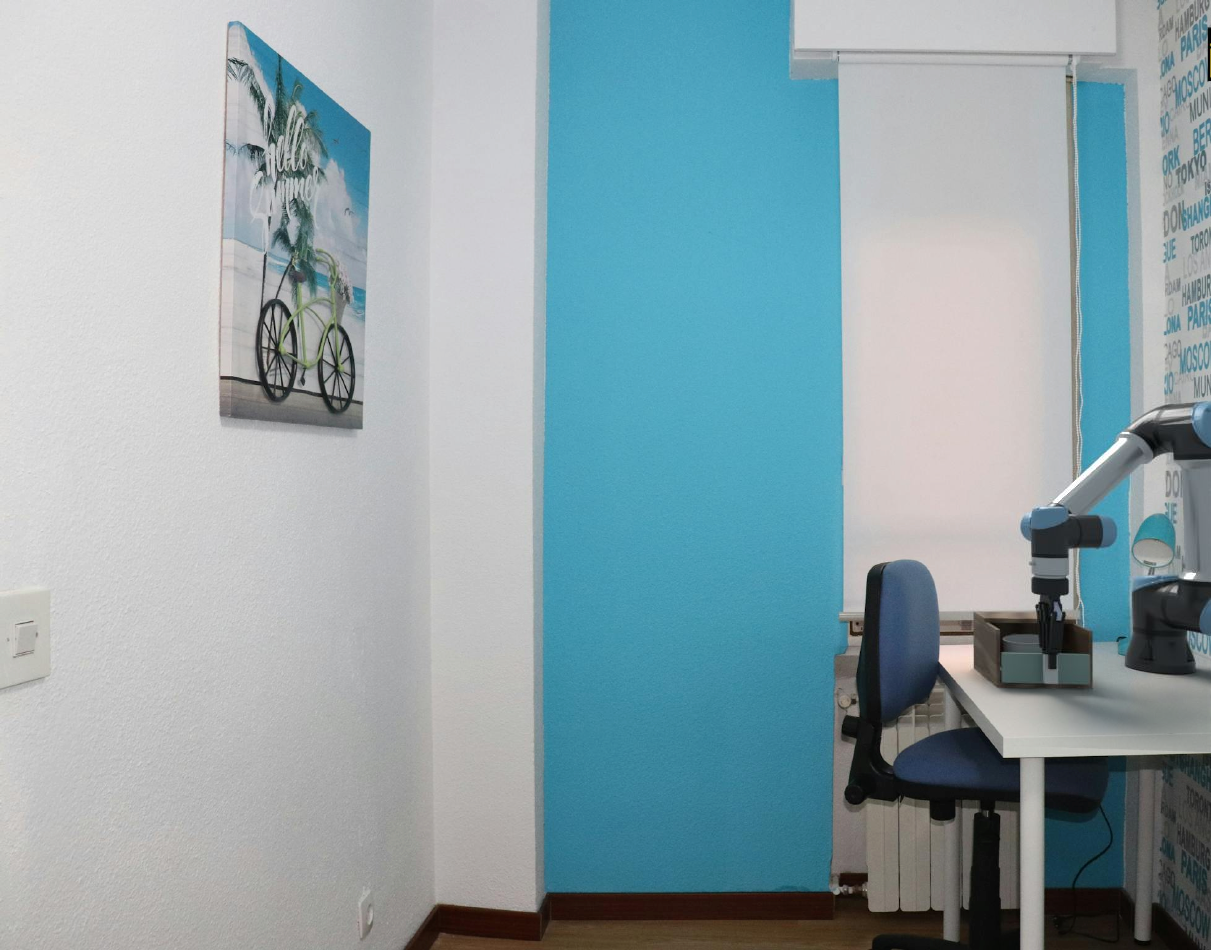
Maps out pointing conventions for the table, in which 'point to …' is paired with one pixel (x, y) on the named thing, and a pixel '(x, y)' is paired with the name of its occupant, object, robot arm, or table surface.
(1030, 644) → the teacup
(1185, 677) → the table surface
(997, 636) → the cubby
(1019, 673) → the drawer
